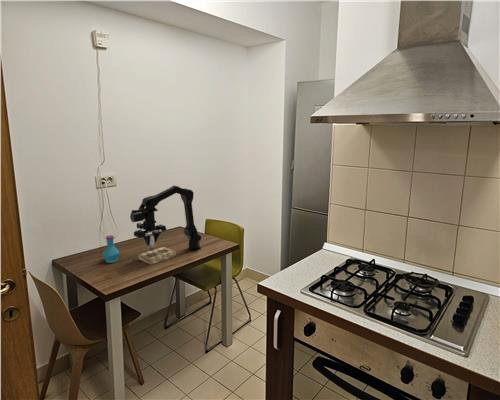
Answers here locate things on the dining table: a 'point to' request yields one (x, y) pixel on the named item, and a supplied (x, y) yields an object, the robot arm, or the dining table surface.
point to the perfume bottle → (110, 250)
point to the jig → (157, 255)
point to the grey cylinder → (151, 242)
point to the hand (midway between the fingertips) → (151, 244)
